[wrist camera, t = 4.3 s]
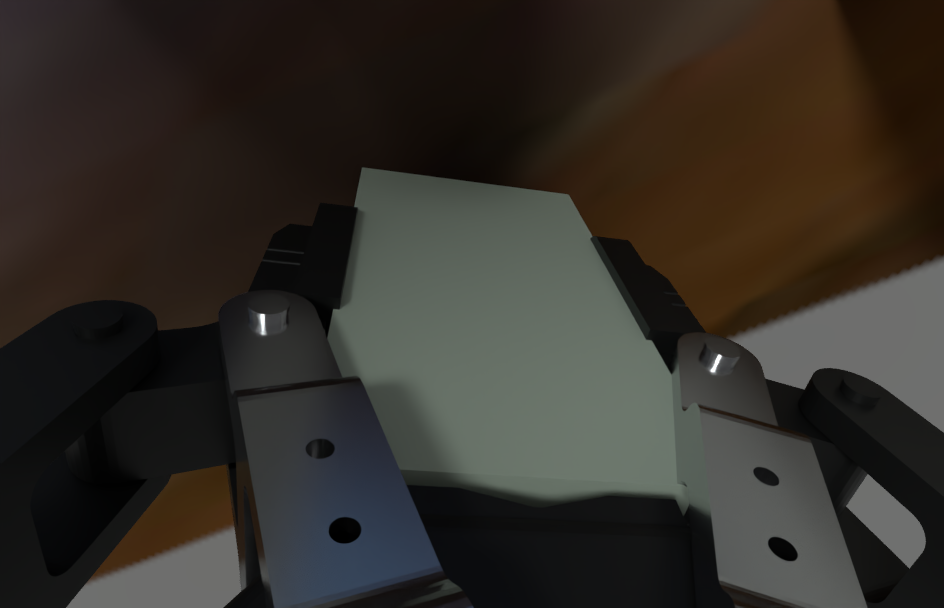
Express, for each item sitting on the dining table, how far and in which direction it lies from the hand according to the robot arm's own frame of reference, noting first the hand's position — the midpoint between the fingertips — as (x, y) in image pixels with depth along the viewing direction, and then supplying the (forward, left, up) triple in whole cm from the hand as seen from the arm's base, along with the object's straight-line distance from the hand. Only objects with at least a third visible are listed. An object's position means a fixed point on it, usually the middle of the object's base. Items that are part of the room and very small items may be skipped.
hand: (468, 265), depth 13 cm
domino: (0, 0, -2) cm, 2 cm away
